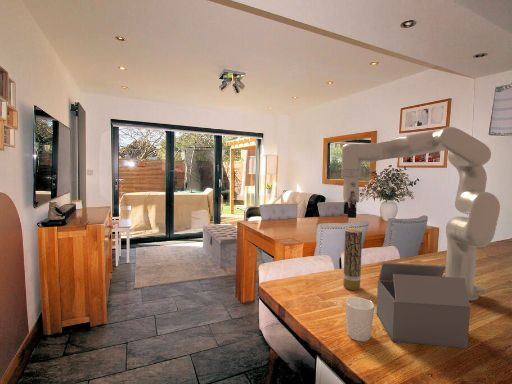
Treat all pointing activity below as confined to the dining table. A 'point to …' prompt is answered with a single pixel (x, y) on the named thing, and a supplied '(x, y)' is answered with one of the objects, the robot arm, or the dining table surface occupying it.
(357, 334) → the white cup
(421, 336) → the carton
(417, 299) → the flap
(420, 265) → the flap
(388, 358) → the dining table surface
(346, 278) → the paper tube
